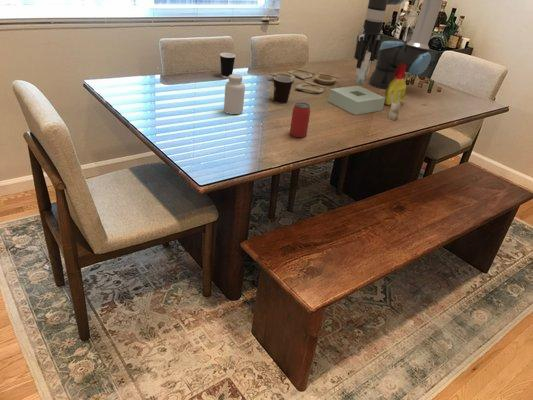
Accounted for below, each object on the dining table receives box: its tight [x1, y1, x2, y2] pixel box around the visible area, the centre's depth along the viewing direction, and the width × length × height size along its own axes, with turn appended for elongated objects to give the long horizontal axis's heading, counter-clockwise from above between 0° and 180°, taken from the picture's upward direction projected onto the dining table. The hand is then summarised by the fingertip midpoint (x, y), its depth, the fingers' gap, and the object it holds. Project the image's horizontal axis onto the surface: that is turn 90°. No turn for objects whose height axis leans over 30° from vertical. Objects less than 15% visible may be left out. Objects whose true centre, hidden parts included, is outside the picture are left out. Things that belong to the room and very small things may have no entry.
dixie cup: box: [219, 52, 236, 79], centre depth 218 cm, size 8×8×11 cm
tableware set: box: [268, 67, 341, 94], centre depth 227 cm, size 35×29×4 cm
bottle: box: [384, 63, 407, 106], centre depth 207 cm, size 12×6×20 cm, turn 120°
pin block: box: [327, 85, 385, 116], centre depth 202 cm, size 18×18×6 cm
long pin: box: [355, 50, 371, 85], centre depth 194 cm, size 4×4×14 cm
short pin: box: [387, 102, 402, 121], centre depth 193 cm, size 4×4×7 cm
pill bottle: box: [223, 73, 246, 115], centre depth 177 cm, size 8×8×15 cm
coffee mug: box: [273, 76, 294, 104], centre depth 198 cm, size 12×9×10 cm
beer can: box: [289, 101, 311, 138], centre depth 165 cm, size 7×7×12 cm
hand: (361, 74), depth 196 cm, fingers closed on long pin, 4 cm apart
